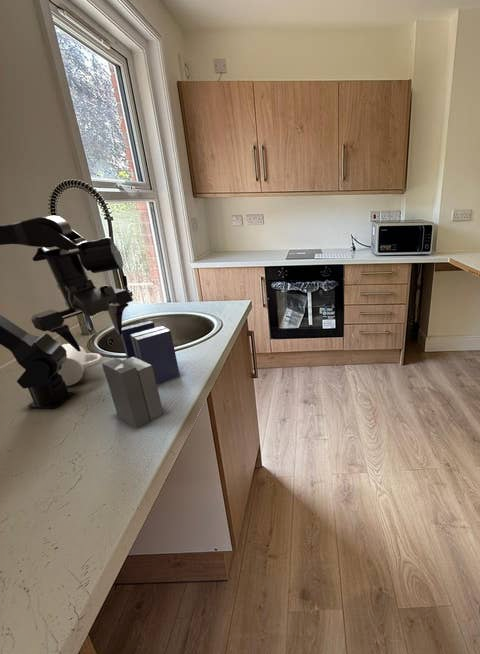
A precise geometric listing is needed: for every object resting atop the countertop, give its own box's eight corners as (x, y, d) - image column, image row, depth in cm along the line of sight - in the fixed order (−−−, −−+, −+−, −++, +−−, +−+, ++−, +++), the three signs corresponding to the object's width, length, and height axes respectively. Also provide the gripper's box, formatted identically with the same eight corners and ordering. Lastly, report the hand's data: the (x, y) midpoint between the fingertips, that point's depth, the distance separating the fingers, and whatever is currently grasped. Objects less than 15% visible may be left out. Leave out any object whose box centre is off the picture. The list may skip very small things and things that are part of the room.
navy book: (133, 375, 93) (121, 330, 88) (130, 372, 95) (118, 328, 90) (163, 365, 98) (153, 322, 93) (160, 362, 100) (150, 320, 95)
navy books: (149, 387, 87) (137, 340, 82) (141, 380, 91) (129, 334, 86) (180, 375, 92) (170, 330, 87) (172, 369, 96) (162, 325, 91)
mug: (49, 390, 87) (39, 361, 84) (57, 373, 95) (47, 346, 92) (104, 378, 92) (96, 351, 89) (107, 363, 100) (99, 337, 97)
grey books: (117, 415, 76) (101, 363, 71) (144, 402, 81) (131, 352, 76) (136, 428, 72) (121, 373, 67) (164, 413, 77) (151, 361, 72)
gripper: (33, 294, 63) (70, 368, 70) (132, 267, 76) (155, 331, 83) (14, 290, 70) (50, 358, 76) (109, 265, 83) (132, 325, 89)
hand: (100, 342), depth 81 cm, fingers open, 9 cm apart
